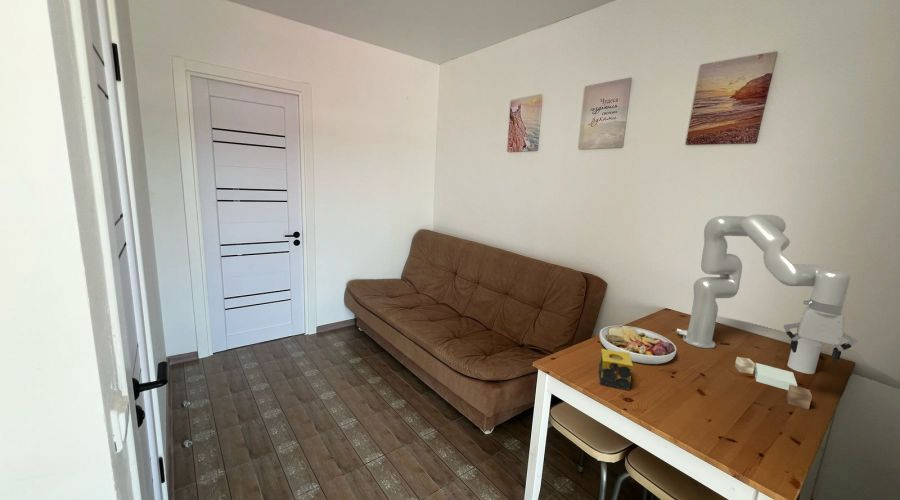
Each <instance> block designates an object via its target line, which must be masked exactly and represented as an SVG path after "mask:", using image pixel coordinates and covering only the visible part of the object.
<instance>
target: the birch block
mask: <svg viewBox="0 0 900 500" xmlns="http://www.w3.org/2000/svg"><path fill="white" fill-rule="evenodd" d="M755 364H756V362H754V361H752V360H751V359H750V358H747V357H742V356H741V357H740V356H736V359H735V364H734V368H735V369H737V370H738V372H739V373H743V374H744V373H745V374H749V375H751V374H752V375H753V374H754V372H755V371H754V369H755Z"/></svg>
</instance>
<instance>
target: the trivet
mask: <svg viewBox="0 0 900 500" xmlns="http://www.w3.org/2000/svg"><path fill="white" fill-rule="evenodd" d="M753 372H754V375H755V381H756V382H758V383H760V384H765V385H768V386H772V387H774V388H779V389H783V390H786V391H788V389H789V385H794V386H797V387H798V384H797V383H798V382H797V381H796V378H795V375H794V372H793V371H789V370H786V369H785V370H784V369H781V368H778V367H773V366H770V365H767V364H762V363H758V362H755V367H754V371H753Z"/></svg>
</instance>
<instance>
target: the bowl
mask: <svg viewBox="0 0 900 500" xmlns="http://www.w3.org/2000/svg"><path fill="white" fill-rule="evenodd" d="M599 341H600V343H601V344H602V345H603V347H605V348H604V349H606V350H612V351H618V352H625V353H630V358H631V362H635V363H640V364H645V365H646V364H647V365H659V364H660V365H661V364H665V363H668V362H670V361H671V360H672V359H674V358H675V356H676V354H677V346H676V345H675V344H674V343H673V341H671V340H670V339H669V338H667V337H665V336H663V335H660V334H659V333H657V332H654V331H651V330H648V329H644V328H641V327H635V326H629V325H628V326H627V325H610V326H605V327H603V328H602V329H600V331H599Z"/></svg>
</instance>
